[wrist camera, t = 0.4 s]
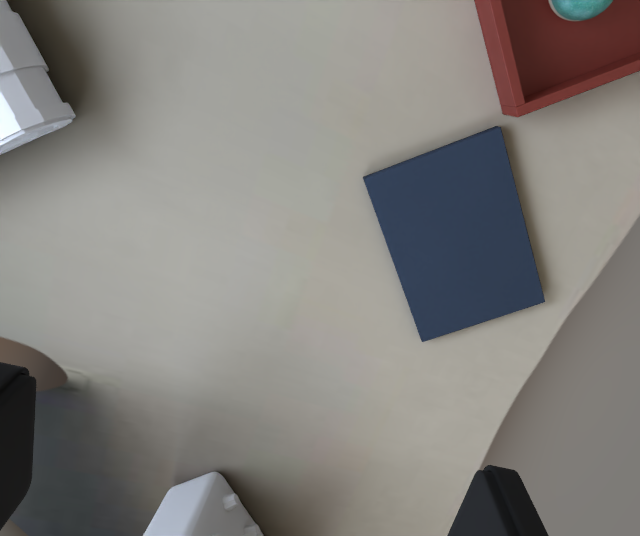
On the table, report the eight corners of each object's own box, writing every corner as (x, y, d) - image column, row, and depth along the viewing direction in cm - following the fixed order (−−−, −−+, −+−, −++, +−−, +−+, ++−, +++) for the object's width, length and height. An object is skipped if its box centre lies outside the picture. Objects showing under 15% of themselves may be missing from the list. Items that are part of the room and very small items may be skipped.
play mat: (362, 177, 44) (363, 179, 43) (496, 125, 42) (500, 126, 41) (420, 337, 49) (422, 342, 48) (541, 297, 48) (545, 302, 47)
